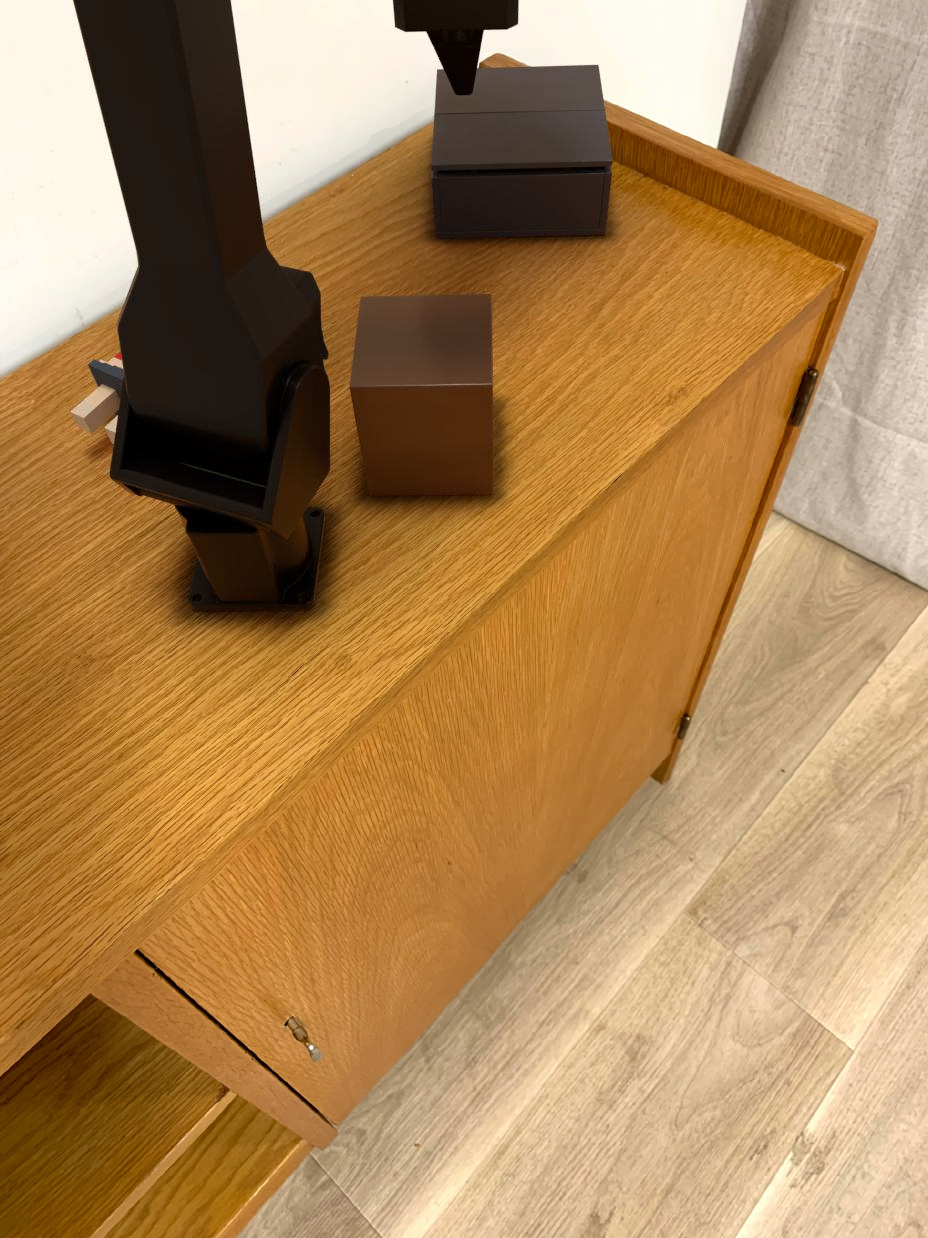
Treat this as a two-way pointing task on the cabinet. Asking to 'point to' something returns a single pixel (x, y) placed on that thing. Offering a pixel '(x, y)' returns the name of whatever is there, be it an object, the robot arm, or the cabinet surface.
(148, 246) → the robot arm
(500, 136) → the flap
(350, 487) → the cabinet surface
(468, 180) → the case
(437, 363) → the stand
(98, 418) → the figurine
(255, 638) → the cabinet surface
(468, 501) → the cabinet surface
